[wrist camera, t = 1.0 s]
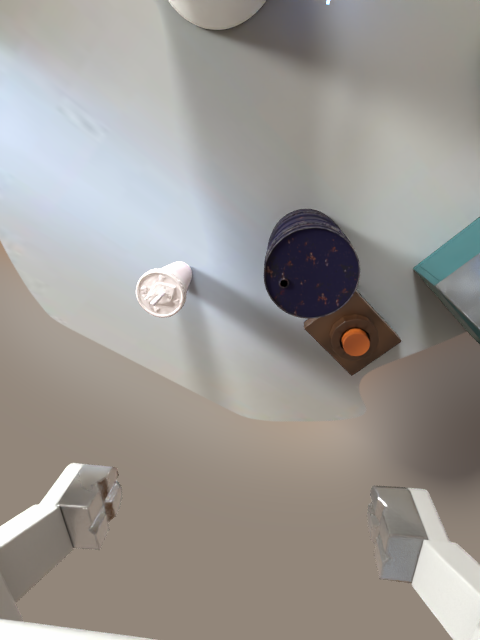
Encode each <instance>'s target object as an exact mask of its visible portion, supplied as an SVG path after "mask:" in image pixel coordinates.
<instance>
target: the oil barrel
mask: <svg viewBox="0 0 480 640" xmlns="http://www.w3.org/2000/svg"><path fill="white" fill-rule="evenodd" d="M359 277H360V265H359V260H358V257H357V254H356V252H355V250H354V248H353V246H352V245H351V243H350V241H349V240H348V239H347V237H346V236H345V234H344V233H343V232H342V231H341V230H340V228H339V227H338V226H337V225H336V224H335V222H334V221H333V220H331V219H330V218H329V217H328V216H326V215H325V214H323V213H321V212H319V211H317V210H312V209H300V210H296V211H293V212H291V213H289V214H287V215H286V216H284V217H283V218H282V219H281V220H280V221H279V222H278V223H277V224H276V226H275V228H274V229H273V232H272V234H271V236H270V239H269V243H268V248H267V253H266V257H265V264H264V282H265V286H266V290H267V292H268V294H269V296H270V298H271V299H272V301H273V302H274V303H275V304H276V305H277V306H278V307H279V308H280V309H282V310H283V311H285V312H286V313H288V314H290V315H293V316H296V317H300V318H308V319H310V318H320V317H324V316H327V315H330V314H332V313H334V312H336V311H337V310H339V309H340V308H342V307H343V306H344V305H345V304H346V303H347V302H348V301H349V300H350V298H351V297H352V296H353V294H354V292H355V290H356V288H357V285H358V282H359Z"/></svg>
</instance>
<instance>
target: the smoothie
mask: <svg viewBox="0 0 480 640" xmlns="http://www.w3.org/2000/svg"><path fill="white" fill-rule="evenodd" d="M191 279H192V270H191V268H190V267H189V265H187V264H186V263H184V262H180V261H178V262H174V263H172V264H170V265H167V266H165V267H163V268H160V269H152V270H150V271H148V272H146V273H145V274H144V275H143V276H142V277H141V278H140V279H139V281H138V283H137V286H136V296H137V299H138V302H139V303H140V305H141V306H142V308H143V309H144V310H145V311H147V312H148V313H149V314H151V315H153V316H156V317H170V316H173V315H174V314H176V313H177V312H178V311H179V310H180V309H181V308H182V307H183V305H184V303H185V300H186V292H187V289H188V286H189V284H190V281H191Z"/></svg>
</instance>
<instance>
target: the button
mask: <svg viewBox="0 0 480 640" xmlns="http://www.w3.org/2000/svg"><path fill="white" fill-rule="evenodd" d="M341 341H342V345H343V348H344V350H345V352H346V353H347V354H349V355H351V356H360V355H363V354H364V353H366V352H367V351H368V349H369V347H370V341H369V339H368V337H367V334H366V333H365V332H364V331H363V330H361V329H358V328H352V329H349V330H347V331H346V332H345V333H344V334H343V336H342V339H341Z"/></svg>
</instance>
